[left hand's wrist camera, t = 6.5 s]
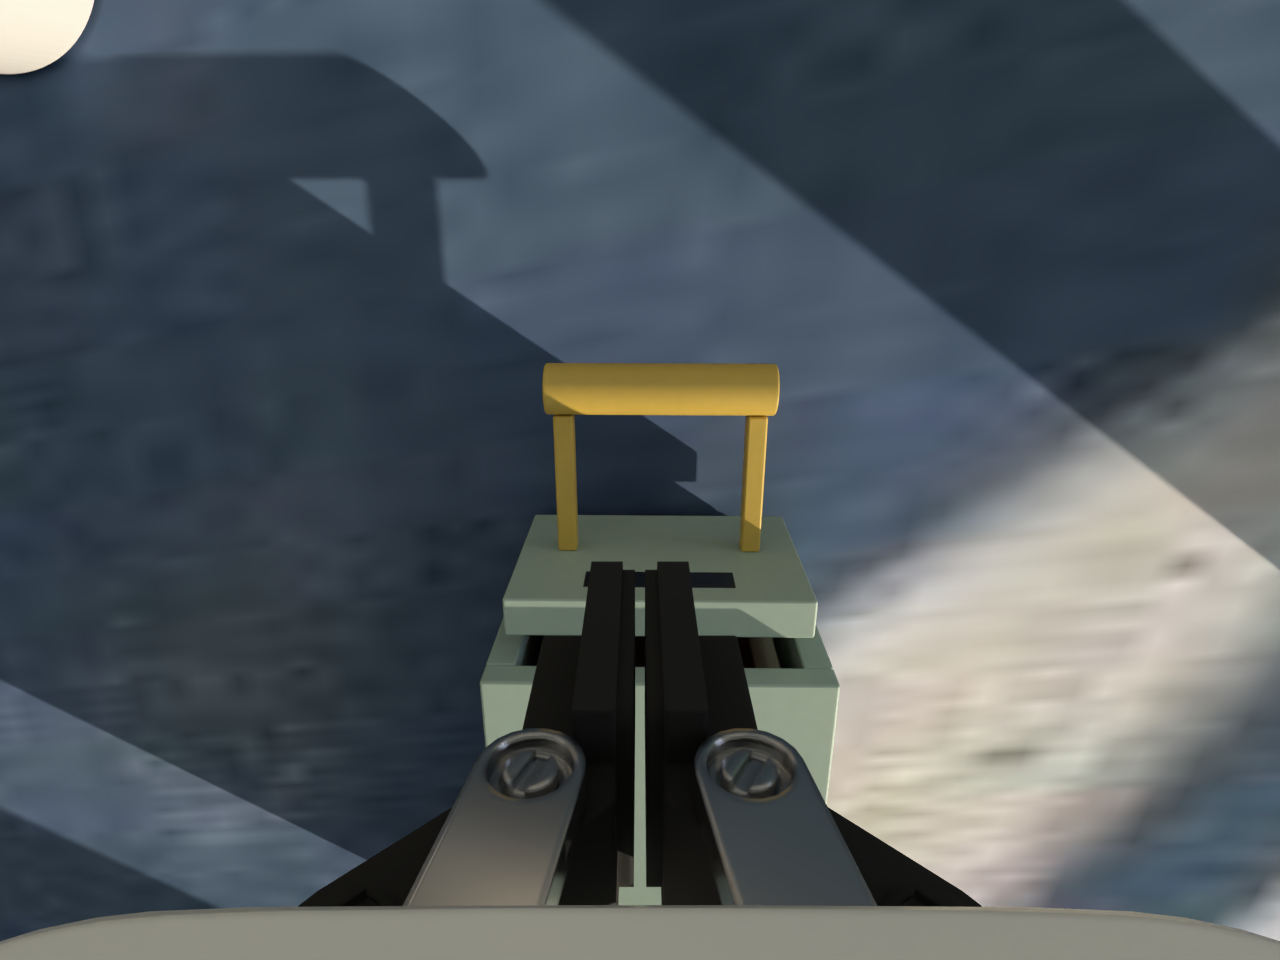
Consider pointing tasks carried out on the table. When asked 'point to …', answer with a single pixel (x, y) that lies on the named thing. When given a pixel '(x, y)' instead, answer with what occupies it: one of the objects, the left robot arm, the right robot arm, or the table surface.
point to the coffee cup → (39, 31)
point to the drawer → (713, 545)
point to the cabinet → (781, 700)
